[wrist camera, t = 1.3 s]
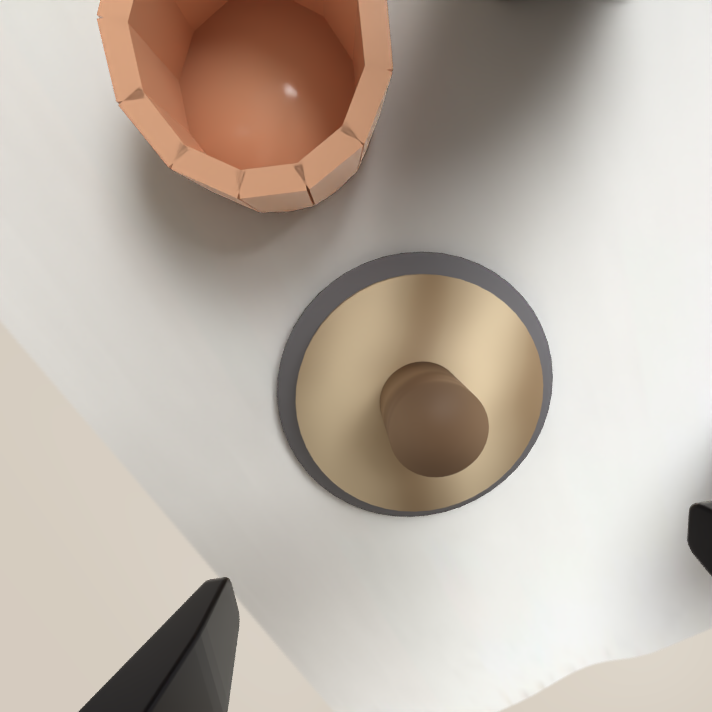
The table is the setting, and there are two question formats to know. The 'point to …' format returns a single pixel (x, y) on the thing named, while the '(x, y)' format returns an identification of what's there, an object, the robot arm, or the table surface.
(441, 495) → the lid
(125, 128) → the table surface
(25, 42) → the table surface
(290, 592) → the table surface
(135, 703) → the robot arm
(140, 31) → the bowl
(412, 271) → the mat
